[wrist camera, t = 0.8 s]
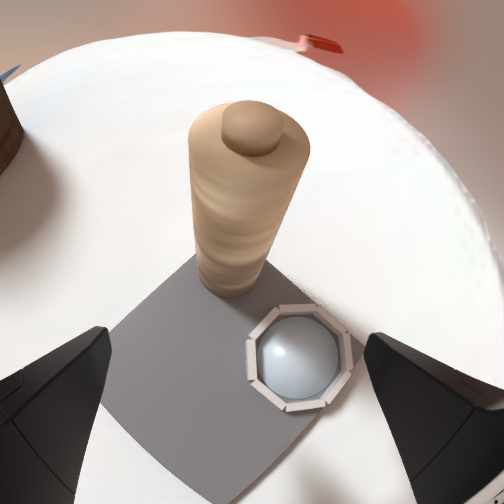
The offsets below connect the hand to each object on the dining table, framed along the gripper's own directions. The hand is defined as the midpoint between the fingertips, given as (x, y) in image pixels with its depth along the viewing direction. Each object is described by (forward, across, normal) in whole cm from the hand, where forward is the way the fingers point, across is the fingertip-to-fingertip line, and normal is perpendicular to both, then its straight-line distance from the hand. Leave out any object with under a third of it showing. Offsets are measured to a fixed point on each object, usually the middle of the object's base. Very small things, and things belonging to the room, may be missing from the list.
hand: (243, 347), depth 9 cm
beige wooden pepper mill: (+14, 0, +3) cm, 15 cm away
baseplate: (+9, 0, +10) cm, 13 cm away
